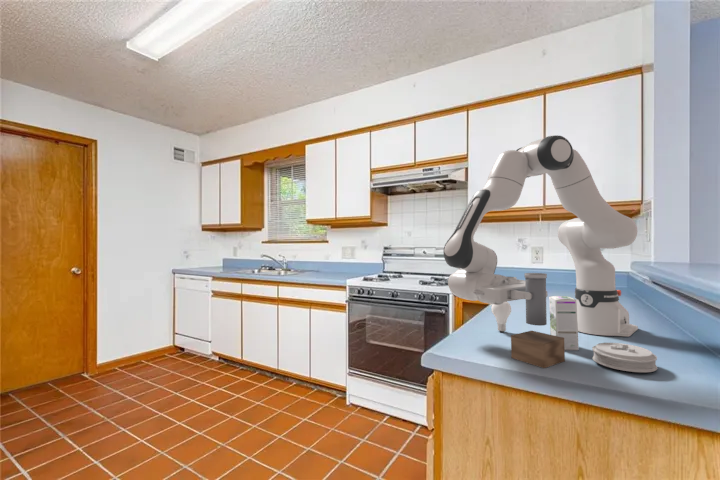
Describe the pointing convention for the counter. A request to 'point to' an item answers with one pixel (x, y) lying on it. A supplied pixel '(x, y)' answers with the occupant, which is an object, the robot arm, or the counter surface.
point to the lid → (624, 357)
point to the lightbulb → (501, 314)
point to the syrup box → (564, 320)
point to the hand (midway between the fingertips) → (539, 295)
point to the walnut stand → (537, 348)
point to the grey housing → (536, 298)
